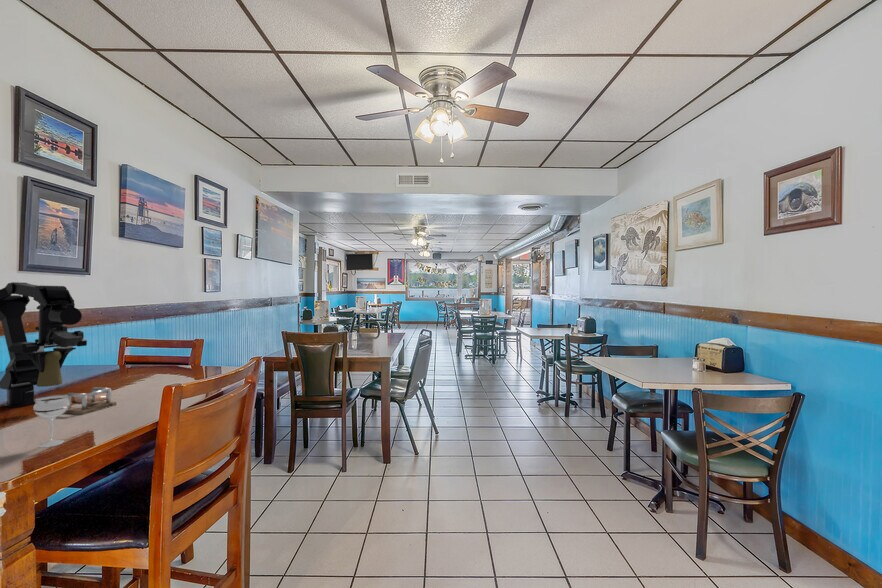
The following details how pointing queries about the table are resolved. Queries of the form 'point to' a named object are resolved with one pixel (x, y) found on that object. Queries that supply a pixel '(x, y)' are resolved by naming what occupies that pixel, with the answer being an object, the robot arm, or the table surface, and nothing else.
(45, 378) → the olive green tapered cylinder
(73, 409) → the base
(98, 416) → the table surface
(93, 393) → the silver twin cylinder holder
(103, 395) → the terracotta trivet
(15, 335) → the robot arm
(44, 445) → the wineglass
